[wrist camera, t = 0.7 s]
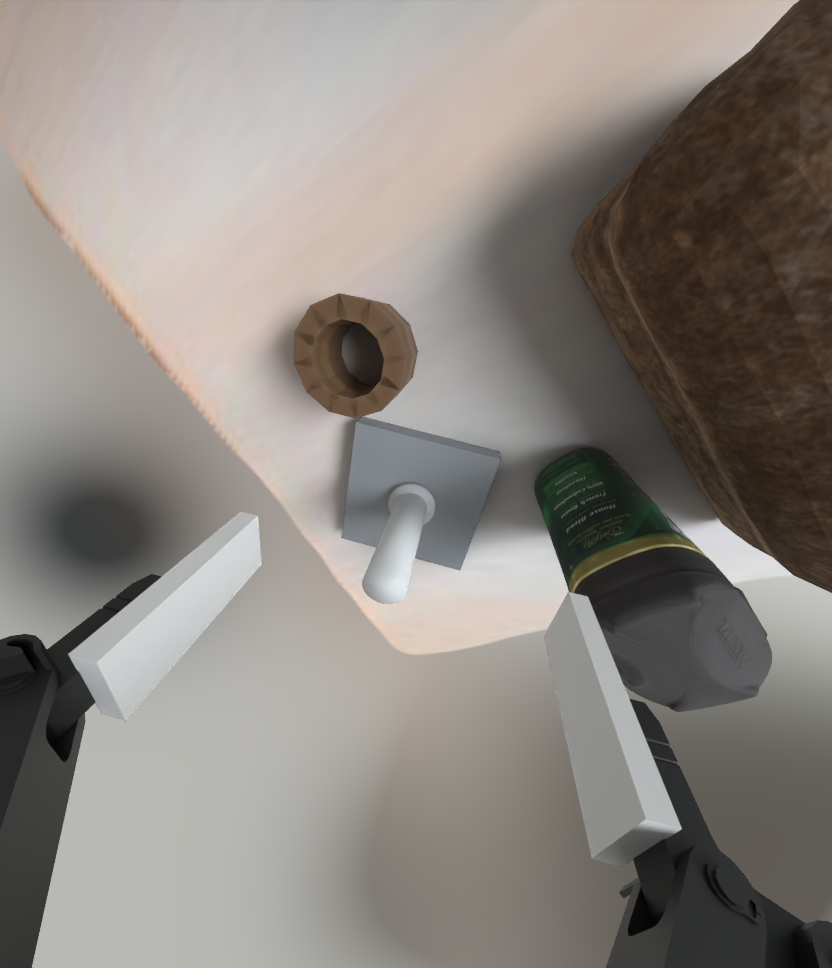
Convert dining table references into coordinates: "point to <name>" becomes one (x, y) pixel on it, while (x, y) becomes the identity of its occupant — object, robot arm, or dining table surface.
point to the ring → (325, 363)
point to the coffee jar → (650, 588)
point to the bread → (737, 288)
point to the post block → (412, 501)
